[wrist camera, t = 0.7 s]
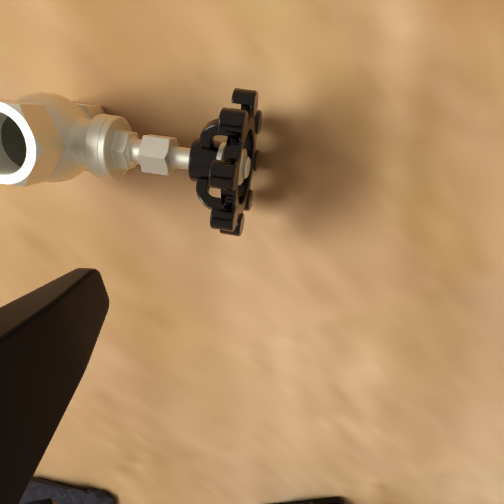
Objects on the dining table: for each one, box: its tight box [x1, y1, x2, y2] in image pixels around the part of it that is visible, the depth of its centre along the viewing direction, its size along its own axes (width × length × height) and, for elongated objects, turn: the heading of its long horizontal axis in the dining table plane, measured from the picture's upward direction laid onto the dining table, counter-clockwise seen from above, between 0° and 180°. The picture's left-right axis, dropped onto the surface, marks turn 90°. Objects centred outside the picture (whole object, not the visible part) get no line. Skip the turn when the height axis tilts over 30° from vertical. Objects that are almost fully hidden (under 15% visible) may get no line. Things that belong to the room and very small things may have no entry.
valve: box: [0, 88, 262, 236], centre depth 19 cm, size 7×7×12 cm
